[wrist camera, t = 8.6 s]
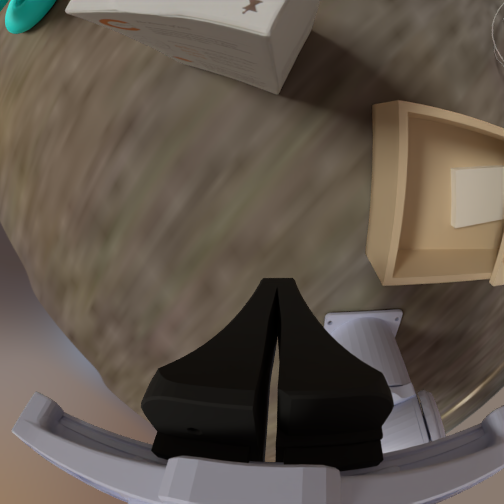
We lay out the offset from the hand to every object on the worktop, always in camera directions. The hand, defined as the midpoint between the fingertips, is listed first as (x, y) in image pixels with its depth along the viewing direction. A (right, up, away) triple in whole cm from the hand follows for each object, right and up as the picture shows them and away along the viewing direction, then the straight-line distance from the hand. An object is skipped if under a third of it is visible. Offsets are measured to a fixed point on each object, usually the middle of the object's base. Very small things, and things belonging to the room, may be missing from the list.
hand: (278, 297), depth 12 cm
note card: (+19, +7, +5) cm, 21 cm away
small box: (-2, +17, +4) cm, 18 cm away
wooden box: (+17, +7, +6) cm, 19 cm away
